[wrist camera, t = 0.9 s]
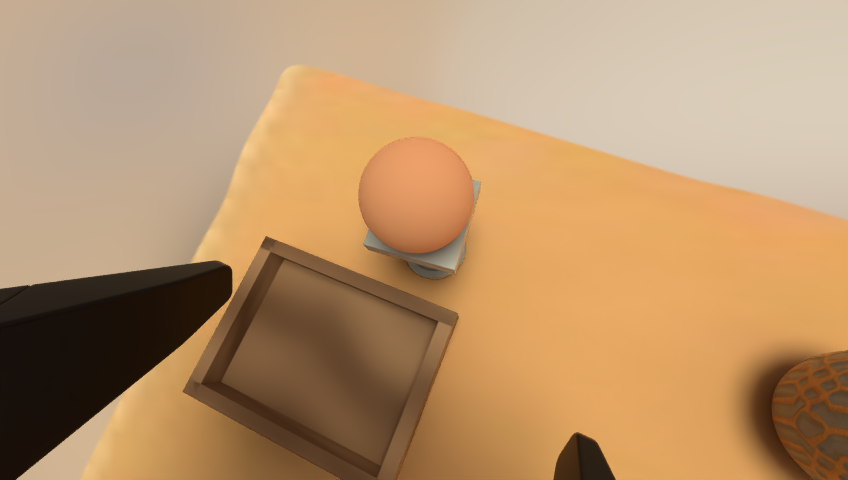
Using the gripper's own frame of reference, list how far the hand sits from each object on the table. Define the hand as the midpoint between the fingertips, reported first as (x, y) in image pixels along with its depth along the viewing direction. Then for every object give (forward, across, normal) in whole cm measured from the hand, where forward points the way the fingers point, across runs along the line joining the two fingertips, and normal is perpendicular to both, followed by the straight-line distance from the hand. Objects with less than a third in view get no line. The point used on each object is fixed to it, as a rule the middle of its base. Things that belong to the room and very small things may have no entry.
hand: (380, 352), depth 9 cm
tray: (+9, +6, +11) cm, 16 cm away
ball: (+8, +3, -1) cm, 9 cm away
